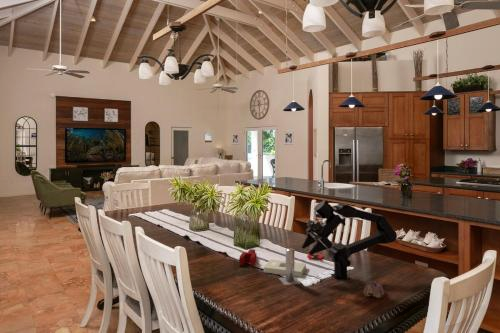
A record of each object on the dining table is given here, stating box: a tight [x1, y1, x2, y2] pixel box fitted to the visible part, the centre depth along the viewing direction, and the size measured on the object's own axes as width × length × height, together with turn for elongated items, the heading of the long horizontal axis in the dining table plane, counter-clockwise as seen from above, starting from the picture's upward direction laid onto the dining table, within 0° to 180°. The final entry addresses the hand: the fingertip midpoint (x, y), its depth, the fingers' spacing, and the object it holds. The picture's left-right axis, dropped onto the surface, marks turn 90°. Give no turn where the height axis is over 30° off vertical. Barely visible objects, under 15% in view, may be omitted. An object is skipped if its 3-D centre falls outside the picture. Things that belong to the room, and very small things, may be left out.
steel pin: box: [285, 247, 296, 282], centre depth 156 cm, size 4×4×14 cm
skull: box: [362, 281, 385, 299], centre depth 142 cm, size 12×8×6 cm, turn 133°
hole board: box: [263, 258, 307, 278], centre depth 170 cm, size 18×12×3 cm, turn 71°
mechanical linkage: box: [238, 248, 258, 267], centre depth 182 cm, size 16×7×5 cm, turn 167°
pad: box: [278, 276, 302, 286], centre depth 157 cm, size 8×8×1 cm
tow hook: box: [306, 238, 324, 261], centre depth 189 cm, size 8×13×9 cm
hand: (305, 251), depth 157 cm, fingers open, 9 cm apart
